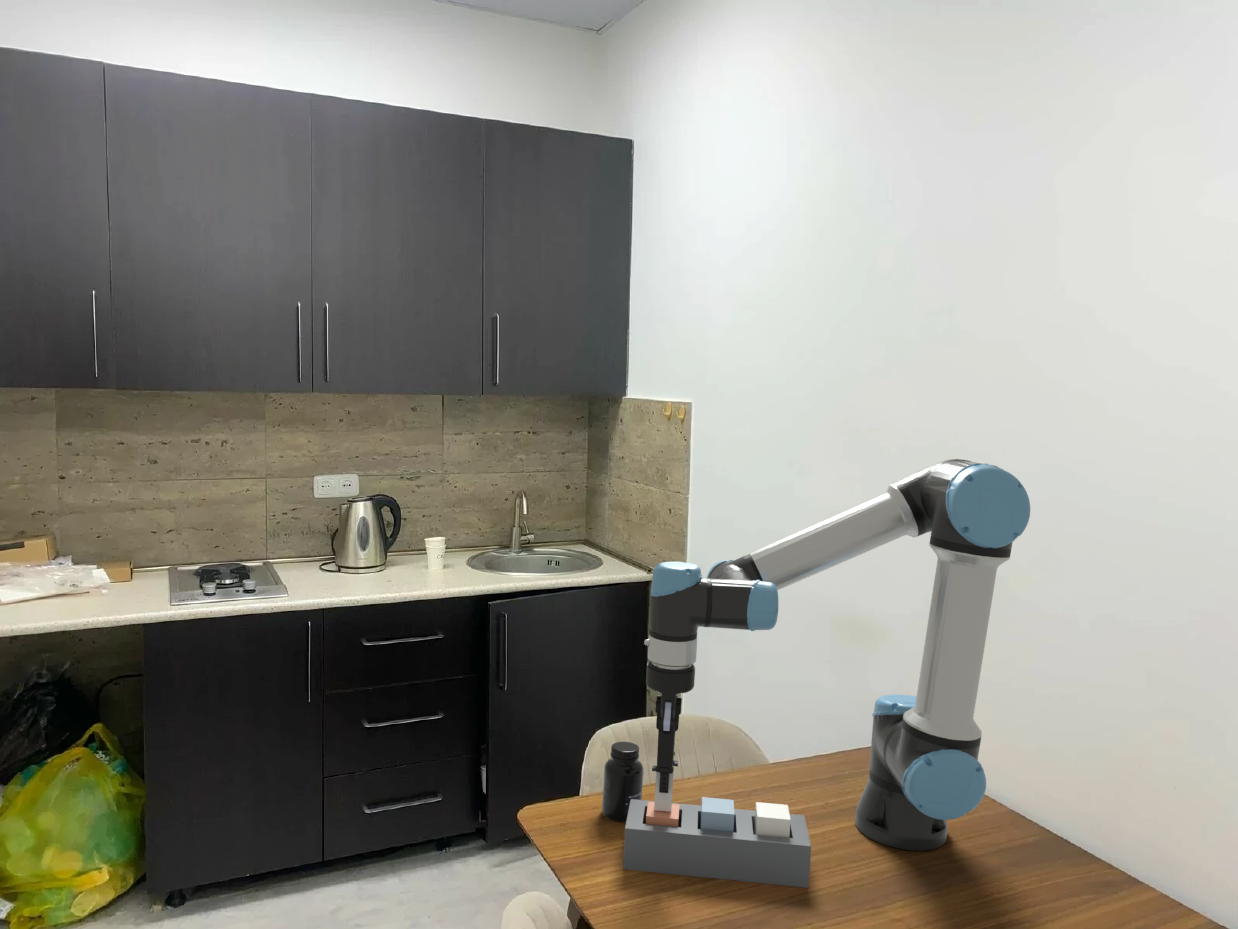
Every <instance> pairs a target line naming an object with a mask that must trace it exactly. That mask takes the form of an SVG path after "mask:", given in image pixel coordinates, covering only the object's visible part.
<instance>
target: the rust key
mask: <svg viewBox="0 0 1238 929" xmlns="http://www.w3.org/2000/svg"><path fill="white" fill-rule="evenodd" d="M679 804H680V803H679ZM679 804H672V808H671V812H668V811H657V810H654V802H648V807H647V814H646V824H651V825H662V826H672V827H678V823H679Z"/></svg>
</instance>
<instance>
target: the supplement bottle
mask: <svg viewBox="0 0 1238 929" xmlns="http://www.w3.org/2000/svg"><path fill="white" fill-rule="evenodd" d="M609 755H610V758H609V759H607V761H606V762H605V763H604V769H603V783H602V797H601V798H602V801H601V803H602V804H601V812H602V814H603V816H605V818H607V819H609V820H611V821H614V822H621V823H622V822H623V823H626V821H627V816H628V811H629V806H630V801H631V799H636V800H643V785H644V766H643V763H642V762H641V761H640V760H639V759H640V747H639V745H638V744H636V743H634V742H631V741H617V742H614V743H613V744H611V748H610V754H609Z"/></svg>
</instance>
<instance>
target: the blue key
mask: <svg viewBox="0 0 1238 929" xmlns="http://www.w3.org/2000/svg"><path fill="white" fill-rule="evenodd" d="M700 806H701V823H700V829H703V830H714V831H724V832H733V830H734V809H735V801H734V799H728V798H727V799H726V798H717V797H708V796H707V797H706V796H702V797H701V805H700Z"/></svg>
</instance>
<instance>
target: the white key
mask: <svg viewBox="0 0 1238 929" xmlns="http://www.w3.org/2000/svg"><path fill="white" fill-rule="evenodd" d="M754 809H755V810H754V811H755V823H754V834H755V835H766V836H776V837H786V838H789V835H790V821H791V820H790V814H791V813H790V810H789V809H790V808H789V805H788V804H782V803H781V804H780V803H769V802H760V801H759V802H758V801H757V802H756V801H755V808H754Z"/></svg>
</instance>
